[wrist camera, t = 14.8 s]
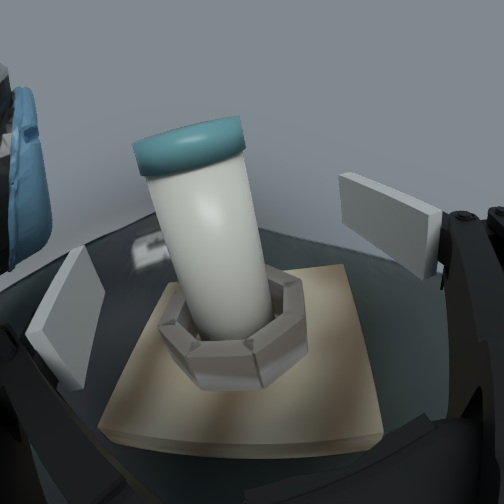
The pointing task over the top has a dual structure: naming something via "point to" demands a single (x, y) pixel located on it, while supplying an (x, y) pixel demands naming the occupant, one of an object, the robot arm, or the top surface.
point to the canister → (209, 225)
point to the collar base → (252, 379)
